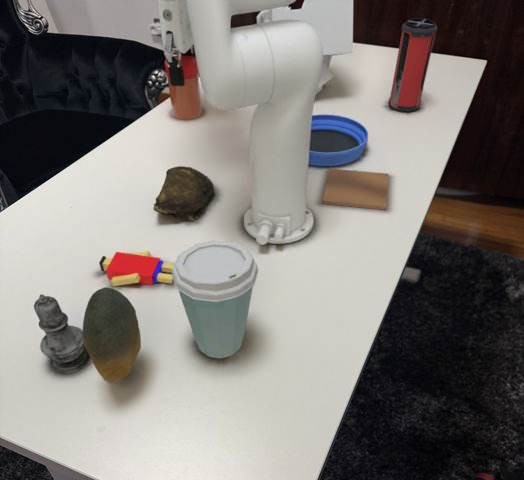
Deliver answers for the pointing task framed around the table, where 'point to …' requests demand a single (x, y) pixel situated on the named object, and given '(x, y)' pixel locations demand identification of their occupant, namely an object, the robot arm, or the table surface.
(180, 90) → the jar
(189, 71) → the lid
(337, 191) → the coaster
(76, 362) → the grey chess piece
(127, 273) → the toy figure
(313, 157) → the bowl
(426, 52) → the speaker
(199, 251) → the disposable coffee cup
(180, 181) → the seashell
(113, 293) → the mango
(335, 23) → the jagged white slab
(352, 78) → the table surface
